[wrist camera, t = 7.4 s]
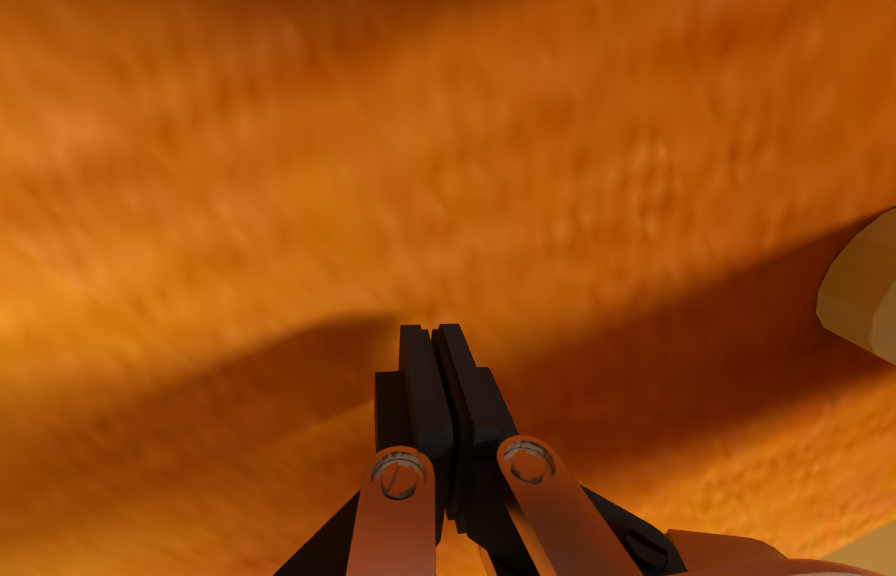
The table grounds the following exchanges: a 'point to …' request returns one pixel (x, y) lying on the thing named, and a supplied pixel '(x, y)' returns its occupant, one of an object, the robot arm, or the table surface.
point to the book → (864, 290)
